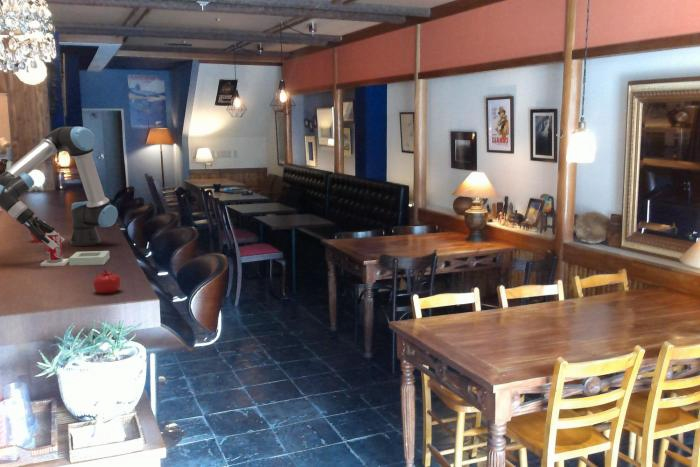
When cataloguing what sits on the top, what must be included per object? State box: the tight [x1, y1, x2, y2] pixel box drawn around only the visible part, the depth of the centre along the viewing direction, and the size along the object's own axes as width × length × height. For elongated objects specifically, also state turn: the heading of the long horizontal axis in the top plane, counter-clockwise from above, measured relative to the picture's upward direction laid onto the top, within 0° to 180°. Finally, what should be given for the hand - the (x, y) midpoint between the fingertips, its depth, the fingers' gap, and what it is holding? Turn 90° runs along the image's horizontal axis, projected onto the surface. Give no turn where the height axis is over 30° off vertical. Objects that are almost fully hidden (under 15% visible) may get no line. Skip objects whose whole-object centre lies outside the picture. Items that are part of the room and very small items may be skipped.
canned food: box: [30, 220, 47, 243], centre depth 350 cm, size 8×8×11 cm
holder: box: [68, 250, 111, 267], centre depth 301 cm, size 15×15×4 cm
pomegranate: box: [92, 268, 122, 295], centre depth 247 cm, size 10×10×9 cm
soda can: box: [44, 232, 64, 262], centre depth 295 cm, size 7×7×13 cm
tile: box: [40, 258, 69, 267], centre depth 297 cm, size 10×10×1 cm
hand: (59, 244), depth 296 cm, fingers open, 13 cm apart
